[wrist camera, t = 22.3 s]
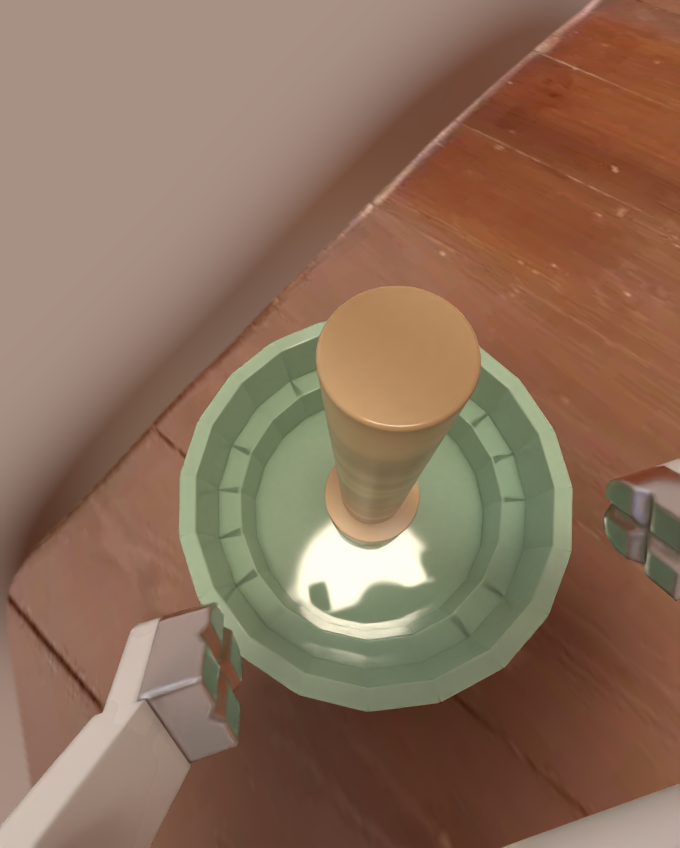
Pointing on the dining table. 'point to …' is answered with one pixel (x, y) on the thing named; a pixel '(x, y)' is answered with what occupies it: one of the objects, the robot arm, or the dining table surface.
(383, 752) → the dining table surface
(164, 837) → the dining table surface
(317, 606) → the mixing bowl
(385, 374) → the muddler
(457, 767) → the dining table surface
